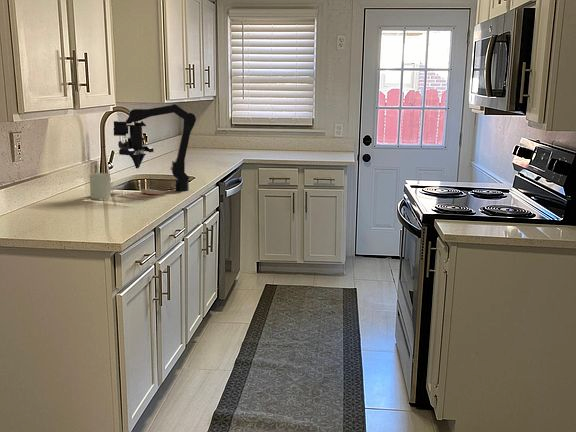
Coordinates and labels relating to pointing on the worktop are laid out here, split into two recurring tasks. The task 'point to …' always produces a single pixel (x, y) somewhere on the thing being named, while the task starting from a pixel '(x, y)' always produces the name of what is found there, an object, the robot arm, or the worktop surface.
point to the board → (141, 196)
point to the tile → (152, 191)
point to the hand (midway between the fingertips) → (137, 168)
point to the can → (100, 186)
